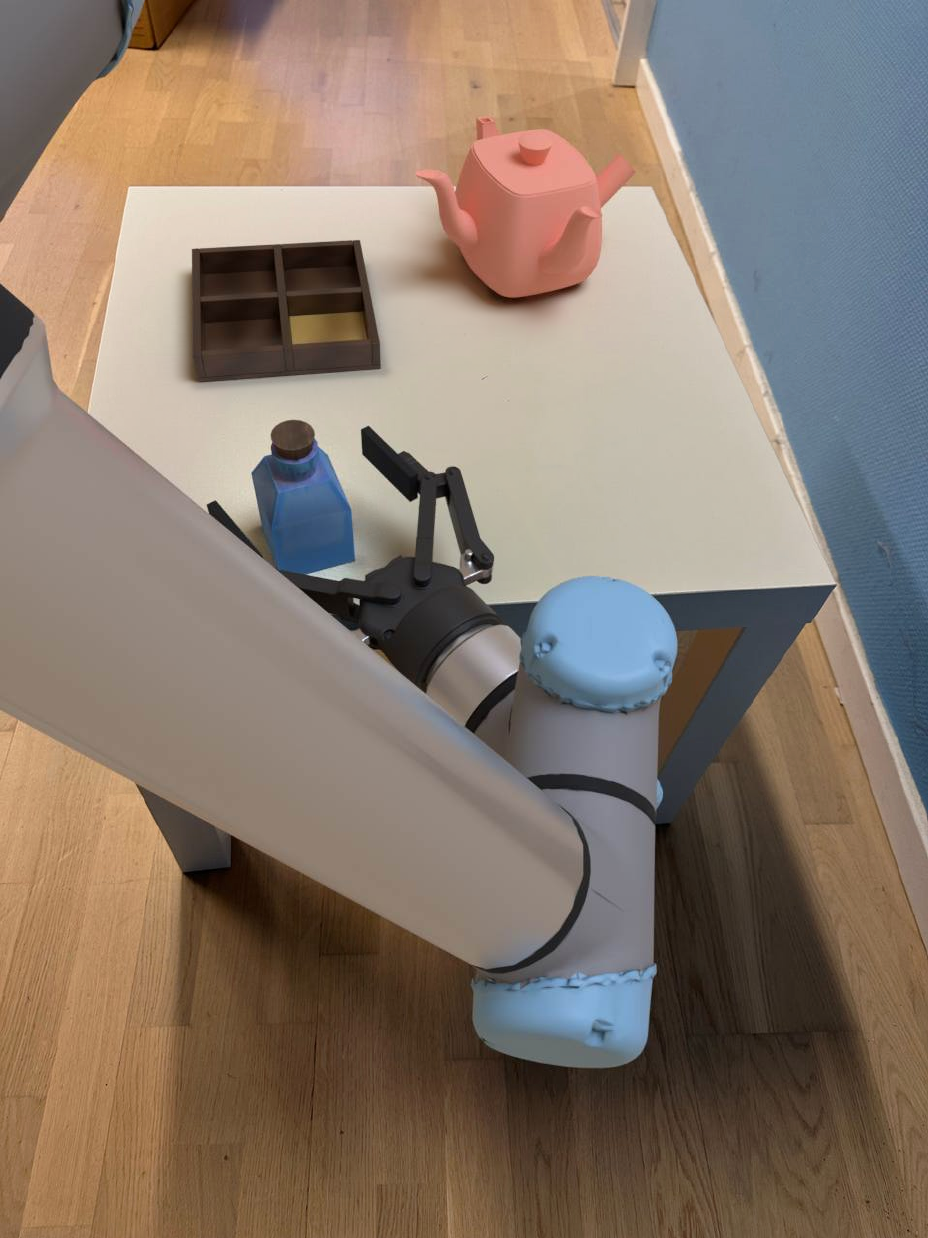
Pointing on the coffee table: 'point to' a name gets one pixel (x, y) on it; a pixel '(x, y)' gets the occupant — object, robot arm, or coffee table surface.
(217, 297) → the wooden compartment tray
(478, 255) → the teapot
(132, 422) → the coffee table surface
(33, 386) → the robot arm
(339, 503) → the perfume bottle
